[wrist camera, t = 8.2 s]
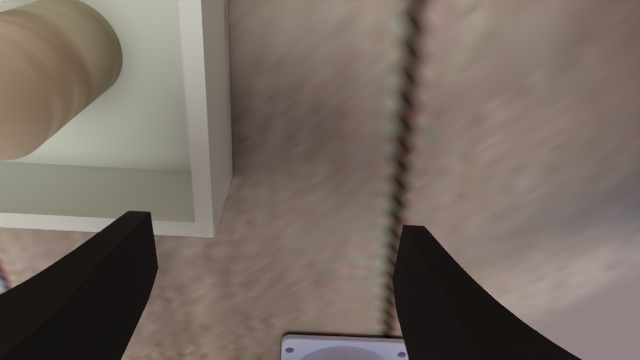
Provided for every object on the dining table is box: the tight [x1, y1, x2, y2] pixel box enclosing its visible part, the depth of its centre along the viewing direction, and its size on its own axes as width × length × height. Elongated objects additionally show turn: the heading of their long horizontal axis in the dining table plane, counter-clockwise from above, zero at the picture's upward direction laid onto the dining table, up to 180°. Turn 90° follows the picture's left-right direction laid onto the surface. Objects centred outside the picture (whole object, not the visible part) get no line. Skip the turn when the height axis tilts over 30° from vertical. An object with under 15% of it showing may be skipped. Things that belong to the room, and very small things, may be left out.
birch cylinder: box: [0, 0, 123, 161], centre depth 16 cm, size 4×4×6 cm
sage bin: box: [0, 0, 233, 238], centre depth 17 cm, size 12×12×5 cm
